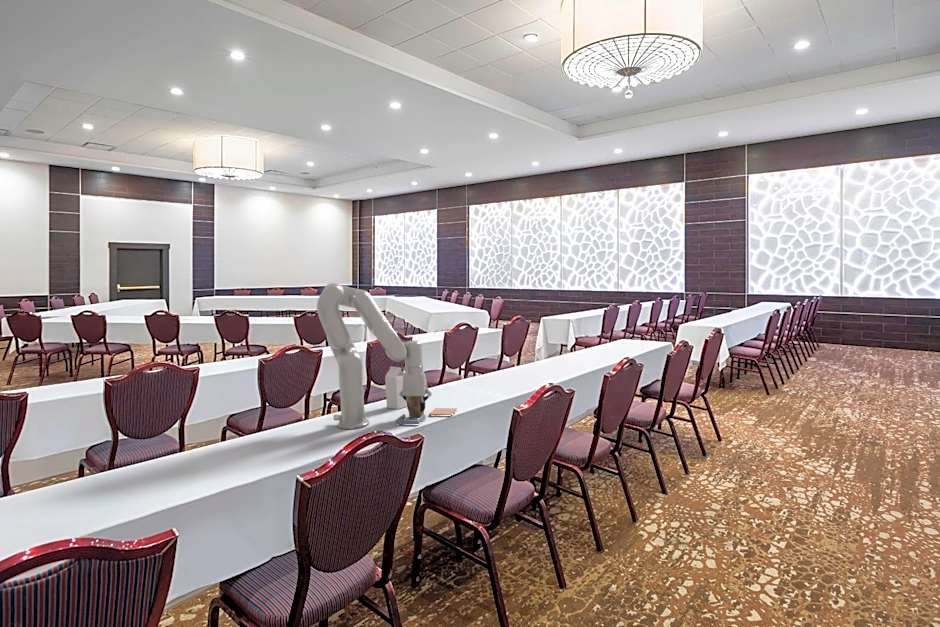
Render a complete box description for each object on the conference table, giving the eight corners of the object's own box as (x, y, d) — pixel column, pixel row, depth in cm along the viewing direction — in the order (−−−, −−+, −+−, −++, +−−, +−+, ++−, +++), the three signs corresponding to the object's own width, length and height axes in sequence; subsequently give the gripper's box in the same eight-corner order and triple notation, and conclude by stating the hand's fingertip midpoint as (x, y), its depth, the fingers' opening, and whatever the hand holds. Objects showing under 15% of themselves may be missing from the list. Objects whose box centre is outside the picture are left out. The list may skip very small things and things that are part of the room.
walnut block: (409, 418, 232) (408, 395, 231) (413, 415, 237) (412, 393, 236) (420, 419, 231) (419, 396, 230) (424, 415, 236) (422, 393, 235)
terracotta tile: (429, 416, 235) (428, 413, 235) (435, 410, 245) (435, 408, 244) (451, 416, 233) (451, 414, 232) (456, 410, 242) (456, 408, 242)
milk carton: (397, 409, 248) (395, 369, 247) (386, 407, 252) (384, 367, 251) (408, 406, 254) (406, 366, 252) (397, 404, 258) (395, 365, 257)
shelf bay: (395, 424, 224) (395, 420, 223) (403, 418, 232) (403, 414, 232) (418, 425, 221) (418, 420, 221) (425, 419, 230) (425, 414, 230)
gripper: (392, 371, 231) (394, 412, 232) (430, 371, 227) (432, 413, 228) (398, 367, 238) (401, 408, 239) (435, 368, 234) (437, 409, 235)
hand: (416, 410), depth 234 cm, fingers closed on walnut block, 5 cm apart
